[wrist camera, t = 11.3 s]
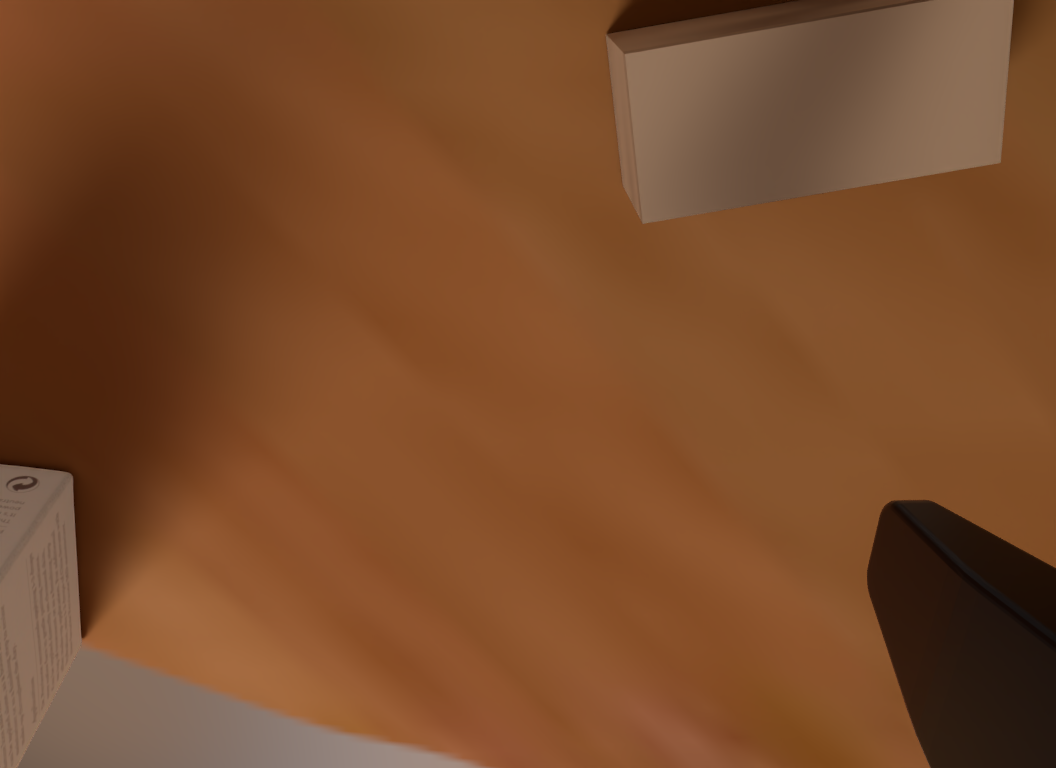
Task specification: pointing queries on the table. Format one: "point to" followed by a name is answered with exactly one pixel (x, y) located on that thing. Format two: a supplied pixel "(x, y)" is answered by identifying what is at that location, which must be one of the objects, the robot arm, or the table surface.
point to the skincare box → (35, 599)
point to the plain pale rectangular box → (806, 100)
